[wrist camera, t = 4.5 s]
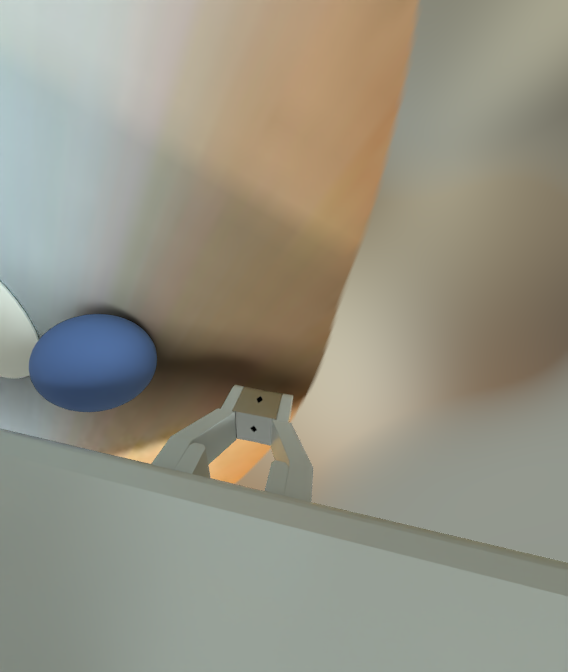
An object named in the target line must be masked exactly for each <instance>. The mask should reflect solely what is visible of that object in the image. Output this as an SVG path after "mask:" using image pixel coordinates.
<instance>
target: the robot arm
mask: <svg viewBox="0 0 568 672" xmlns="http://www.w3.org/2000/svg"><path fill="white" fill-rule="evenodd" d="M292 402H293V395H289V394H282V393H277V392H271V391H265V390H259V389H254V388H250V387H244V386H239V385H234V386H233V387H232V389H231V391H230V393H229V395H228V396H227V398H226V400H225V402H224V404H223V405H222V407H221V409H216V410H214V411H213V412H211V413H209V414H208V415H206V416H204V417H203V418H201V419H199V420H198V421H196V422H194V423H193V424H191V425H189V426H188V427H186V428H184V429H183V430H181V431H179V432H178V433H176V434H174V435H173V436H171V437H170V439H169V440H168V441H167V443H166V444H165V446H164V447H163V448H162V450H161V451H160V453H159V454H158V455H157V457H156V458H155V460H154V461H153V462H152V464H148V463H144V462H139V461H135V460H131V459H127V458H122V457H118V456H114V455H110V454H105V453H101V452H97V451H93V450H89V449H84V448H80V447H76V446H72V445H68V444H63V443H59V442H55V441H51V440H46V439H42V438H38V437H34V436H30V435H25V434H21V433H17V432H13V431H9V430H4V429H0V672H568V563H567V562H563V561H559V560H555V559H550V558H546V557H542V556H537V555H533V554H529V553H525V552H520V551H516V550H512V549H508V548H504V547H499V546H495V545H491V544H487V543H482V542H478V541H474V540H470V539H466V538H461V537H457V536H453V535H449V534H444V533H440V532H436V531H431V530H427V529H423V528H419V527H414V526H410V525H406V524H402V523H397V522H393V521H389V520H385V519H381V518H376V517H372V516H368V515H364V514H360V513H355V512H351V511H347V510H343V509H338V508H334V507H330V506H325V505H321V504H317V503H313V502H311V497H312V478H313V467H312V464H311V462H310V460H309V458H308V456H307V454H306V452H305V450H304V448H303V446H302V444H301V442H300V440H299V438H298V436H297V434H296V432H295V430H294V428H293V426H292V424H291V423H290V416H291V409H292ZM236 438H237V439H242V440H248V441H253V442H258V443H262V444H266V445H270V446H271V449H272V452H273V455H274V459H275V461H273V462H272V463H271V468H270V472H269V475H268V480H267V484H266V488H265V491H262V490H258V489H254V488H250V487H245V486H241V485H237V484H233V483H228V482H224V481H220V480H216V479H211V478H210V473H209V467H208V465H209V464H210V463H211V462H212V461H213V460H214V459H215V458H216V457H217V456H219V455H220V454H221V453H222V452H223V451H224V450H225V449H226V448H227V447H229V446H230V445H231V444H232V443H233V442H234V441H235V440H236Z"/></svg>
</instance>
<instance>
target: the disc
mask: <svg viewBox="0 0 568 672" xmlns="http://www.w3.org/2000/svg"><path fill="white" fill-rule="evenodd" d="M38 341H39V338H38V335H37V332H36V330H35V328H34V326H33V324H32V322H31V320H30V319H29V317H28V316H27V314H26V312H25V311H24V309H23V308H22V307H21V305H20V304H19V302H18V301H17V300H16V298H15V297H14V296H13V295H12V294H11V292H10V291H9V290H8V289H7V288H6V286H5V285H4V284H3V283H2V282H1V281H0V377H4V378H24V377H26V376H29V375H30V374H29V359H30V356H31V353H32V350H33V348H34V346H35V345H36V343H37V342H38Z"/></svg>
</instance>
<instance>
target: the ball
mask: <svg viewBox="0 0 568 672" xmlns="http://www.w3.org/2000/svg"><path fill="white" fill-rule="evenodd" d="M156 365H157V353H156V349H155V346H154V343H153V341H152V340H151V338H150V337H149V335H148V334H147V333H146V332H145V331H144V330H143V329H142V328H140V327H139V326H138V325H136V324H135V323H133V322H131V321H129V320H127V319H124V318H121V317H118V316H113V315H107V314H90V315H83V316H78V317H74V318H71V319H68V320H66V321H63V322H61V323H59V324H57V325H56V326H54V327H53V328H51V329H50V330H48V331H47V332H46V333H45V334H44V335H43V336H42V337H41V338H40V339H39V341H38V342H37V343H36V345H35V346H34V348H33V350H32V353H31V356H30V359H29V374H30V378H31V381H32V383H33V385H34V387H35V388H36V390H37V391H38V392H39V393H40V394H41V395H42V396H43V397H44V398H45V399H46V400H48V401H49V402H51V403H53V404H54V405H57V406H59V407H62V408H65V409H68V410H73V411H79V412H96V411H103V410H108V409H112V408H115V407H118V406H120V405H123V404H125V403H127V402H128V401H130V400H132V399H133V398H135V397H136V396H137V395H139V394H140V393H141V392H142V391H143V390H144V389H145V388H146V387H147V385H148V384H149V382H150V381H151V379H152V377H153V375H154V373H155V370H156Z"/></svg>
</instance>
